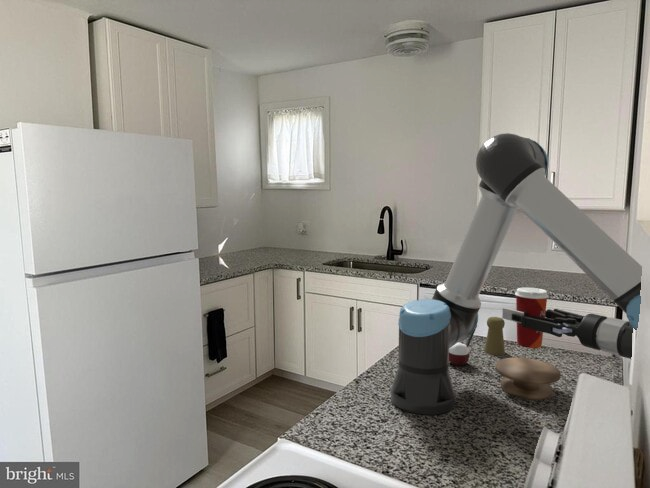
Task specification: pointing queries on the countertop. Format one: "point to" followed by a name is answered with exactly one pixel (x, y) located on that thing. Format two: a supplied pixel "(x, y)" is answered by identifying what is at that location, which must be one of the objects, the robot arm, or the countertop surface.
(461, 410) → the countertop surface
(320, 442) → the countertop surface
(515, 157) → the robot arm
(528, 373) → the pedestal stand
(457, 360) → the cocoa
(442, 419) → the countertop surface
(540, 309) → the paper cup
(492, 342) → the cork
